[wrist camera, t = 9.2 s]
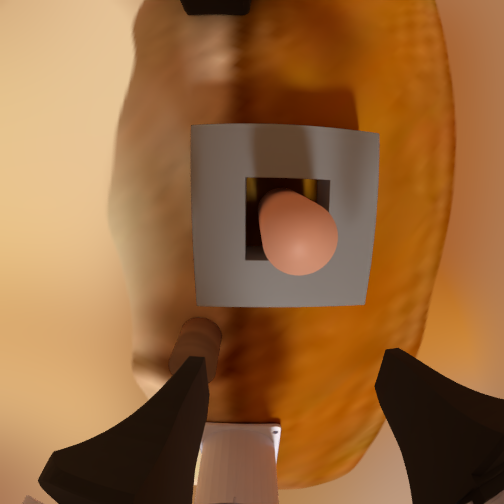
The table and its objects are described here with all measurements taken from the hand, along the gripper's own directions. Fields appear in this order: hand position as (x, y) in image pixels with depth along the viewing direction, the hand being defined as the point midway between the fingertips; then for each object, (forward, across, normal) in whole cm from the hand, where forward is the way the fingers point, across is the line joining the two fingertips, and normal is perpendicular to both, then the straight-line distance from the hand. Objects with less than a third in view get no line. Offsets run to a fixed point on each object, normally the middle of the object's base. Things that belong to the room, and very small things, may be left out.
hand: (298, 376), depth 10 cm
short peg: (+9, +6, +4) cm, 12 cm away
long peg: (+9, 0, -5) cm, 10 cm away
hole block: (+9, 0, -5) cm, 10 cm away
